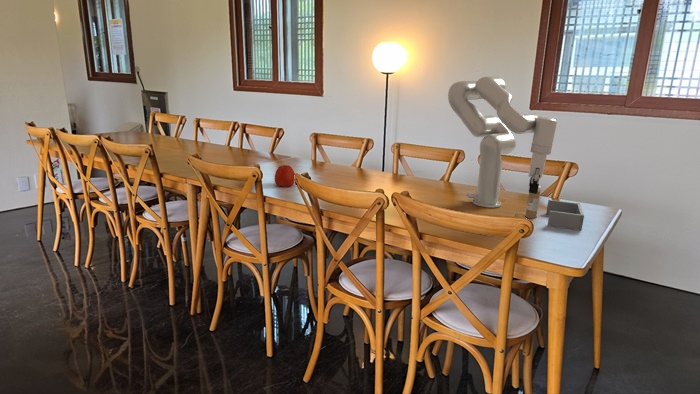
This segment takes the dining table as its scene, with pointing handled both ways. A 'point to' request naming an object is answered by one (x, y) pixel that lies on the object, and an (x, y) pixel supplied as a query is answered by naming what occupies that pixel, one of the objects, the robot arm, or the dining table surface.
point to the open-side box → (565, 215)
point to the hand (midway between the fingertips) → (532, 189)
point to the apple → (284, 176)
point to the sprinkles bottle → (533, 204)
